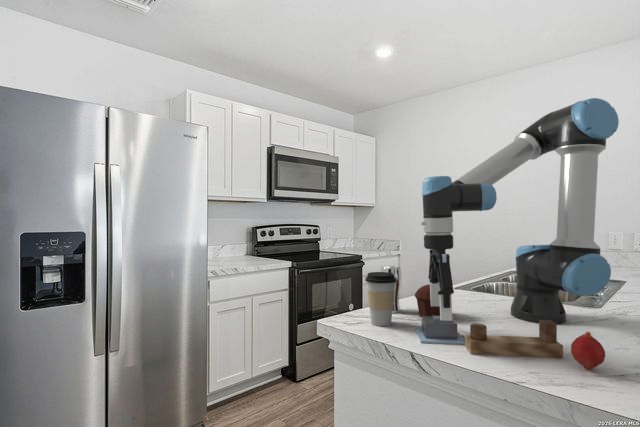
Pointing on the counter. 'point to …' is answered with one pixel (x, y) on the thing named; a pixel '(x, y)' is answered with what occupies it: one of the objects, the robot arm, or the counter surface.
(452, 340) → the mat
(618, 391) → the counter surface
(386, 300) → the coffee cup
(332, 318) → the counter surface
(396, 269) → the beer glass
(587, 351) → the onion
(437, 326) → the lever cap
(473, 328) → the wooden block with pegs
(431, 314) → the muffin
